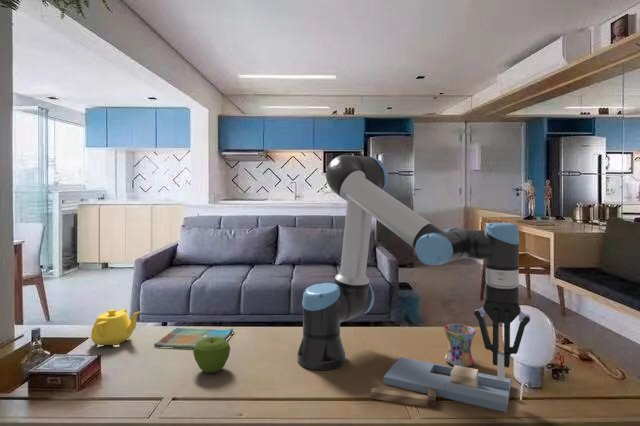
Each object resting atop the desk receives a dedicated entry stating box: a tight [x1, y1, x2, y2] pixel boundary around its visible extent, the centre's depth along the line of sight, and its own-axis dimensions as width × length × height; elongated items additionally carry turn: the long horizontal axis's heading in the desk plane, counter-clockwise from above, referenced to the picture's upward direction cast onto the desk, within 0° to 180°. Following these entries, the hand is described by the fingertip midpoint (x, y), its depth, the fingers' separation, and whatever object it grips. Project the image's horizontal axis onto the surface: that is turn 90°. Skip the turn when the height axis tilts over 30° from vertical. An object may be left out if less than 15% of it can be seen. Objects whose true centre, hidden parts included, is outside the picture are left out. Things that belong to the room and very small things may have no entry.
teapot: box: [90, 308, 142, 346], centre depth 142 cm, size 14×14×12 cm
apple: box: [192, 337, 231, 374], centre depth 120 cm, size 11×10×10 cm
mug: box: [443, 323, 477, 367], centre depth 126 cm, size 12×9×11 cm
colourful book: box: [153, 327, 234, 350], centre depth 145 cm, size 17×23×2 cm
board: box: [383, 356, 512, 413], centre depth 111 cm, size 31×15×4 cm, turn 61°
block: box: [449, 365, 479, 388], centre depth 106 cm, size 6×6×4 cm
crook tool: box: [370, 387, 437, 409], centre depth 104 cm, size 16×6×2 cm, turn 73°
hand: (501, 378), depth 101 cm, fingers closed
